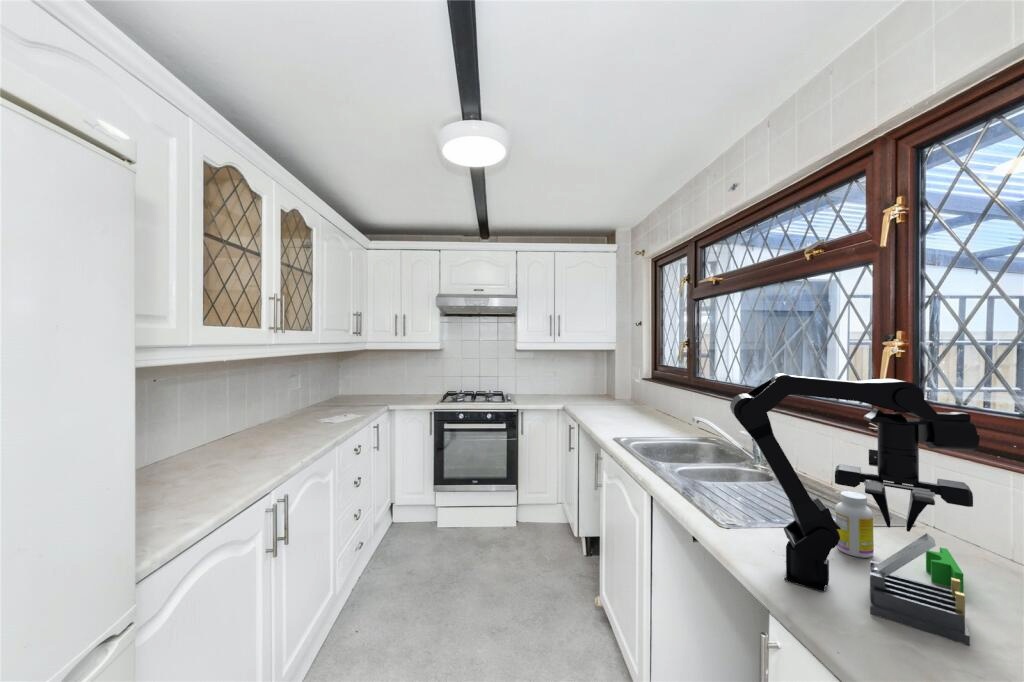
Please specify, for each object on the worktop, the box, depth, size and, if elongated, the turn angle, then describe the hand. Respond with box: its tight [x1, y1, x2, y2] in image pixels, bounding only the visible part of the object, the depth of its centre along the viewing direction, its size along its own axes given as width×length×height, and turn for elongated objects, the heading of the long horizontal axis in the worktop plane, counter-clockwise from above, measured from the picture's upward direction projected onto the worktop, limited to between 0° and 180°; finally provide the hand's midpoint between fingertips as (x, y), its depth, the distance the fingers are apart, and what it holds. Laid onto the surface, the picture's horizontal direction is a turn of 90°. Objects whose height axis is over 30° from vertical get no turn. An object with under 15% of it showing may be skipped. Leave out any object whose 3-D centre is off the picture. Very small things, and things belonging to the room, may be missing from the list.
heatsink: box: [869, 560, 971, 646], centre depth 74 cm, size 12×10×7 cm
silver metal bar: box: [870, 533, 937, 577], centre depth 75 cm, size 12×4×2 cm
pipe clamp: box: [925, 547, 964, 593], centre depth 85 cm, size 11×4×5 cm, turn 145°
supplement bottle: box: [834, 490, 875, 559], centre depth 96 cm, size 7×7×13 cm
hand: (898, 528), depth 80 cm, fingers open, 2 cm apart
